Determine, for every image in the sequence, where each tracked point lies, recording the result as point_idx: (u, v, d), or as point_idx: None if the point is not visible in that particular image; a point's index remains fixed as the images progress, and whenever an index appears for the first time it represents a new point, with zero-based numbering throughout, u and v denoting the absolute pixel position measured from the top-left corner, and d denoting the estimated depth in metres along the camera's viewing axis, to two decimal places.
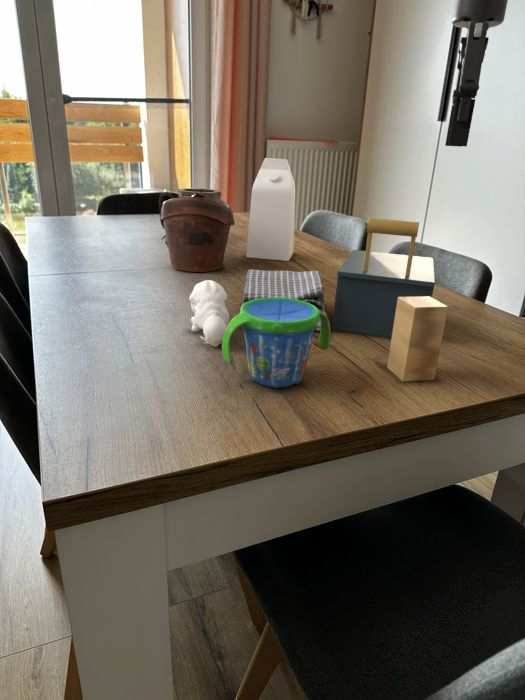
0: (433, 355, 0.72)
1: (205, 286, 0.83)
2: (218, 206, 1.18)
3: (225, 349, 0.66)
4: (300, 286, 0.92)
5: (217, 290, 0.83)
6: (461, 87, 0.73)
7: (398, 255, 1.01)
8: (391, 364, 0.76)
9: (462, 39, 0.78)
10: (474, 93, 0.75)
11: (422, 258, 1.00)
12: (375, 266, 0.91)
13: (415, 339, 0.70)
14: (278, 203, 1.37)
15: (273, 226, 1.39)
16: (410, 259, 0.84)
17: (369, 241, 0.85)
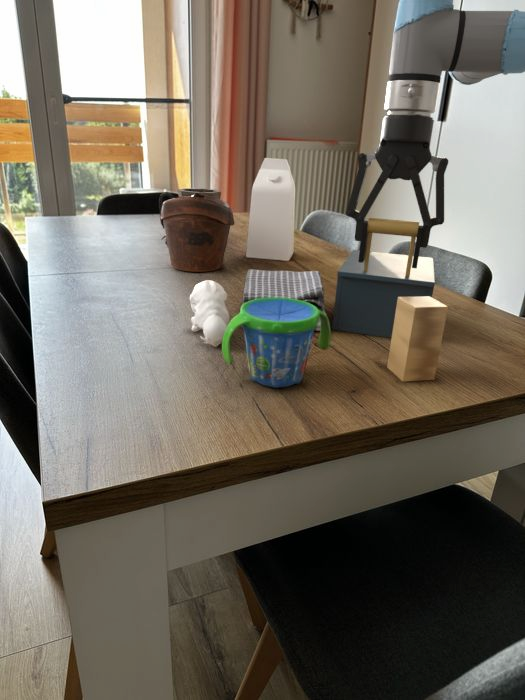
0: (433, 355, 0.72)
1: (205, 286, 0.83)
2: (218, 206, 1.18)
3: (225, 349, 0.66)
4: (300, 286, 0.92)
5: (217, 290, 0.83)
6: (443, 222, 0.80)
7: (398, 255, 1.01)
8: (391, 364, 0.76)
9: (414, 160, 0.78)
10: None
11: (422, 258, 1.00)
12: (375, 266, 0.91)
13: (415, 339, 0.70)
14: (278, 203, 1.37)
15: (273, 226, 1.39)
16: (410, 259, 0.84)
17: (369, 241, 0.85)
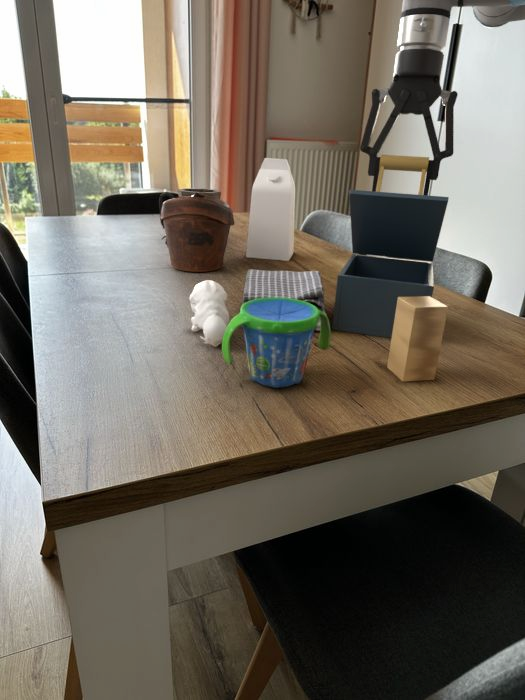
0: (433, 355, 0.72)
1: (205, 286, 0.83)
2: (218, 206, 1.18)
3: (225, 349, 0.66)
4: (300, 286, 0.92)
5: (217, 290, 0.83)
6: (452, 154, 0.85)
7: None
8: (391, 364, 0.76)
9: (425, 94, 0.83)
10: None
11: None
12: None
13: (415, 339, 0.70)
14: (278, 203, 1.37)
15: (273, 226, 1.39)
16: (421, 187, 0.86)
17: (381, 173, 0.88)
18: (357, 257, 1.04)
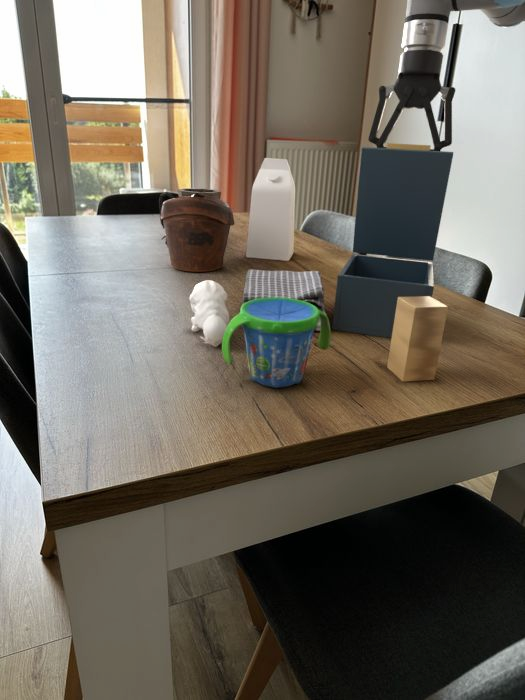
0: (433, 355, 0.72)
1: (205, 286, 0.83)
2: (218, 206, 1.18)
3: (225, 349, 0.66)
4: (300, 286, 0.92)
5: (217, 290, 0.83)
6: None
7: None
8: (391, 364, 0.76)
9: (427, 90, 0.93)
10: None
11: None
12: None
13: (415, 339, 0.70)
14: (278, 203, 1.37)
15: (273, 226, 1.39)
16: None
17: None
18: (357, 257, 1.04)
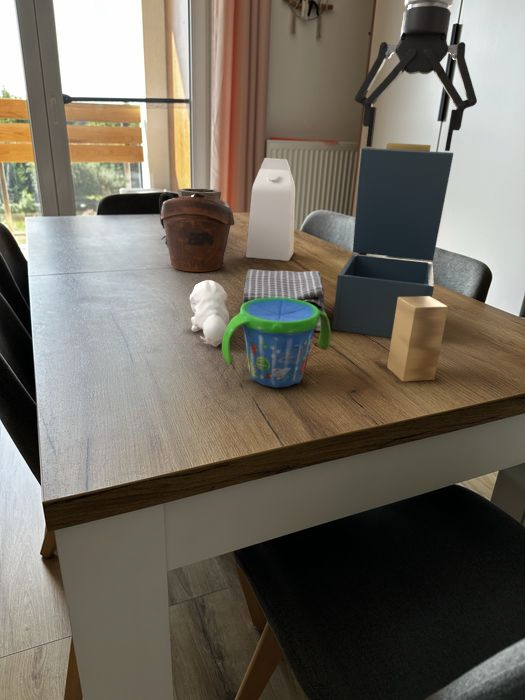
0: (433, 355, 0.72)
1: (205, 286, 0.83)
2: (218, 206, 1.18)
3: (225, 349, 0.66)
4: (300, 286, 0.92)
5: (217, 290, 0.83)
6: (476, 102, 0.85)
7: None
8: (391, 364, 0.76)
9: (432, 51, 0.84)
10: None
11: None
12: None
13: (415, 339, 0.70)
14: (278, 203, 1.37)
15: (273, 226, 1.39)
16: None
17: None
18: (357, 257, 1.04)
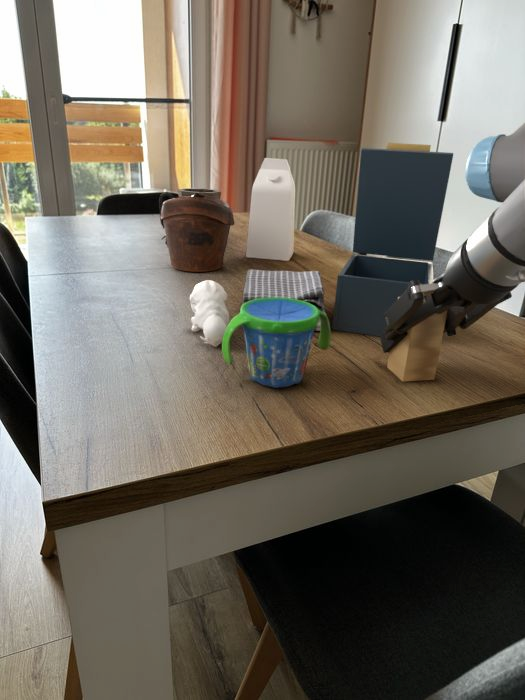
0: (433, 355, 0.72)
1: (205, 286, 0.83)
2: (218, 206, 1.18)
3: (225, 349, 0.66)
4: (300, 286, 0.92)
5: (217, 290, 0.83)
6: None
7: None
8: (391, 364, 0.76)
9: None
10: None
11: None
12: None
13: (415, 339, 0.70)
14: (278, 203, 1.37)
15: (273, 226, 1.39)
16: None
17: None
18: (357, 257, 1.04)
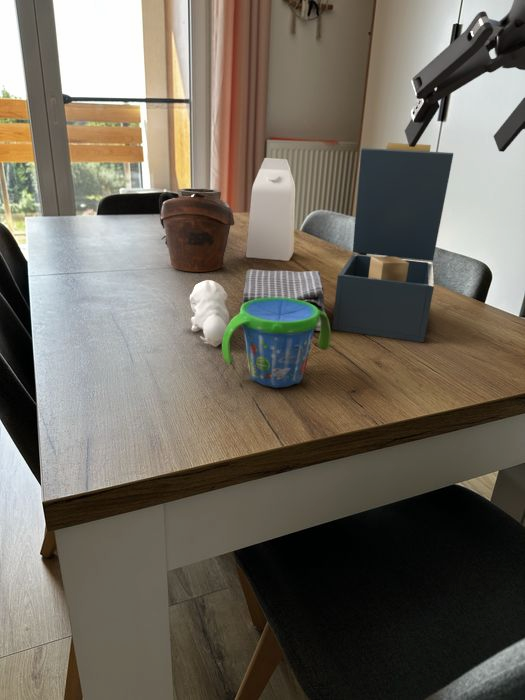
0: None
1: (205, 286, 0.83)
2: (218, 206, 1.18)
3: (225, 349, 0.66)
4: (300, 286, 0.92)
5: (217, 290, 0.83)
6: None
7: None
8: None
9: None
10: None
11: None
12: None
13: None
14: (278, 203, 1.37)
15: (273, 226, 1.39)
16: None
17: None
18: (357, 257, 1.04)
